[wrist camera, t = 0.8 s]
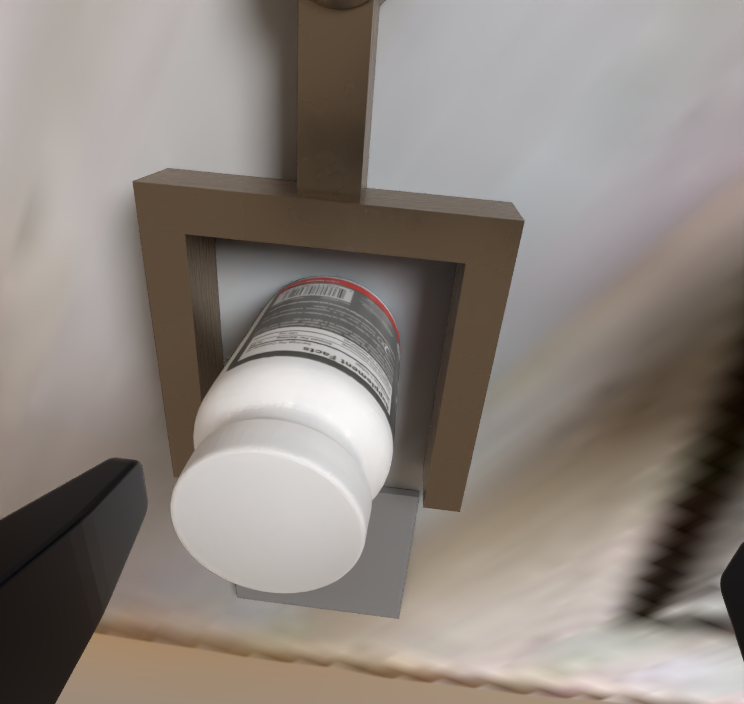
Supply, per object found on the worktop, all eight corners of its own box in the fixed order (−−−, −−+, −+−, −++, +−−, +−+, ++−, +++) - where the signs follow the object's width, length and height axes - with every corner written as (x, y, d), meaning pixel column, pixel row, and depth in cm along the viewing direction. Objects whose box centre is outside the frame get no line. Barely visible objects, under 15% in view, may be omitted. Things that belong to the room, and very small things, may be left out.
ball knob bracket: (576, -107, 14) (605, -142, 11) (456, 470, 23) (459, 511, 21) (135, -141, 14) (81, -181, 12) (196, 439, 24) (174, 476, 22)
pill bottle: (341, 420, 23) (290, 638, 14) (234, 342, 21) (102, 530, 12) (431, 334, 20) (438, 531, 11) (317, 239, 19) (226, 382, 10)
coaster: (419, 491, 24) (419, 497, 24) (399, 612, 28) (398, 618, 28) (230, 468, 24) (227, 473, 24) (239, 591, 29) (236, 597, 28)
